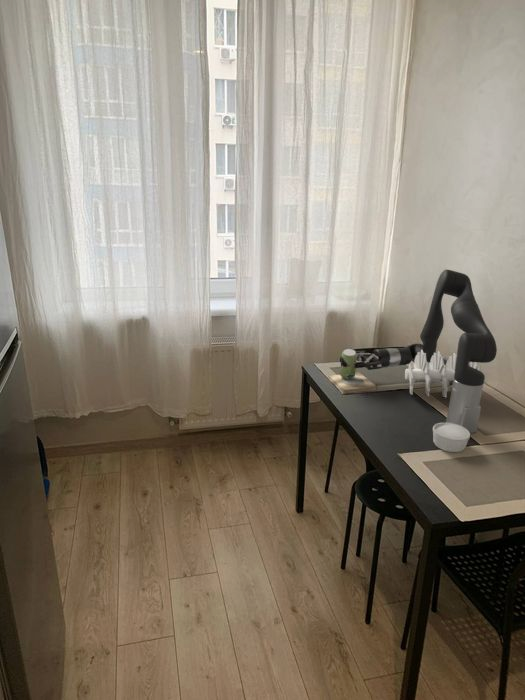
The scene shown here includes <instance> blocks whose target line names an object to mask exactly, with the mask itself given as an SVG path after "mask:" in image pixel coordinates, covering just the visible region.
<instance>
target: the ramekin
mask: <svg viewBox="0 0 525 700" xmlns="http://www.w3.org/2000/svg"><path fill="white" fill-rule="evenodd" d="M432 436H433V437H432V441H433V443H434V445H435V446H436V447H437V448H439V449H440V450H443V451H445V452H449V453H460V452H462V451H464V450H465V448H466V447H467V445H468V441H469V440H470V438H471V433H470V432H469V431H468V430H467V429H466V428H464V427H462V426H460V425H457V424H453V423H446V422H438V423H435V424H434V425H433V426H432Z"/></svg>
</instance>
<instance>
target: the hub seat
mask: <svg viewBox="0 0 525 700" xmlns="http://www.w3.org/2000/svg"><path fill="white" fill-rule="evenodd" d="M328 380H329V381H330V382H331V383H332V384H333V385H334V386H335V387H336V388H337V389H338V390H339V391H341V393H343V394H348V393H349V392H350V393H358V392H357V391H359V392H366V390H368V391H376V390H377V386H376V384H375V383H373V382H372V381H371V380H369V378H367V377H366V376H364V375H363V374H362V373H361V372H355V376H354V377H353V378H351V379H345V378H343V377H341V376H340V373H339V374H332V375H331V374H330V375H328ZM375 389H376V390H375ZM350 393H349V394H350Z"/></svg>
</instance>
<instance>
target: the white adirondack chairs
mask: <svg viewBox="0 0 525 700" xmlns="http://www.w3.org/2000/svg"><path fill="white" fill-rule="evenodd" d="M456 359H457V353H455V352H453V354H451V355H449V356H448V359H447V360H446V363H444V355H443V354H441V352H440V351H439V350H437V352H436V353H434V355H432V357H431V360H430V362H431V363H429V362H427V360H426V353H423V350H421V352H418V353H417V355H416V357H415V360H414V359H413V361H414V362H413V363H412V365H411V363H409V364H408V368H406V369H405V370H404V378H405V380H409V394H410V395H411V396H412V395H414V393H413V392H414V385H415V383H417V381H425V386H424V387H425V395H426V396H427V397H430V392H431V389H430V388H431V384H432V383H433V382H434V381H441V383H440V384H441V394H442V397H445V398H448V397H447V396H448V395H447V394H448V386H450V383H451V382H453V380H454V374H455V365H456ZM478 363H479V362H469V366H470V367H472V368H475V369H477V370H479V371H481V365H479V364H478Z"/></svg>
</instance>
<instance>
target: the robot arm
mask: <svg viewBox="0 0 525 700" xmlns="http://www.w3.org/2000/svg"><path fill="white" fill-rule="evenodd" d="M472 286H473V285H472V283H471V279H470V277H469V275H467V274H465V273H462V272H458V271H455V270H451V269H444V270H443V271H442V272H441V273H440V274H439V277H438V279H437V282H436V284H435V289H434V292H433V296H432V298H431V299H432V300H431V304H430V307H429V311H428V314H427V317H426V320H425V323H424V325H423V327H422V330H421V333H420V335H419V336H420V337H419V338H420V340H421V342H422V343H413V344H410V345H407V346H405V347H396V348H389V347H388V348H379V349H374V350H373V351H372V353H369V352H367V350H354V351H355V352H356V354H357V360H356V362H355V363H354V367H355V368H356V369H362V368H363V369H367V370H368V371H371V370H372V371H373V370H380V369H384V368H385V369H386V368H394V367H398V366H399V367H400V366H406V365H409V364H411V362H412V360H413V361H414V360H415V357H416V355H417V353H418V352H421V350H423V353H426V360H427V362H429V363H431V362H430V360H431V357H432V355H434V353H437V346H438V340H439V338H440V336H441V334H442V331H443V328H444V325H445V322H444V321H445V318H444V314H443V307H442V300H443V296H444V295H449V296H451V297H454V298H456V299H455V300H454V301H453V303H452V304H451V307H450V313H451V317H452V320H453V322H454V325H456V327H458V328H459V329H460V330H461V331H463V332H464V333H462V334H461V335H460V337H459V340H458V343H457V351H456V352H457V353H456V356H457V359H456V365H455V374H454V380H453V381H452V386H451V393H450V398H449V404H448V409H447V414H446V421H445V423H453V424H457V425H460V426H462V427H464V428H466V429H467V430H468V431H469V432H470V434H474V433H477V430H478V425H479V420H480V414H481V410H482V406H481V405H480V403H481V398H482V394H483V393H482V392H483V387H484V384H485V379H486V378H485V377H486V375H485V374H484V373H483V372H482V371H481V370H480V371H479V370H477V369H475V368H472V367H470V366H469V362H477V363H480V364H481V363H482V364H483V363H485V364H486V363H491V362H493V361H494V360H495V359H496V357H497V351H498V349H497V342H496V340H495V337H494V336H493V334H492V332H491V330H490V329H489V327H488V325H487V324H486V322H485V320H484V317H483V315H482V312H481V309H480V307H479V304H478V303H477V301H476V298H475V295H474V291H473V287H472Z"/></svg>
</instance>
